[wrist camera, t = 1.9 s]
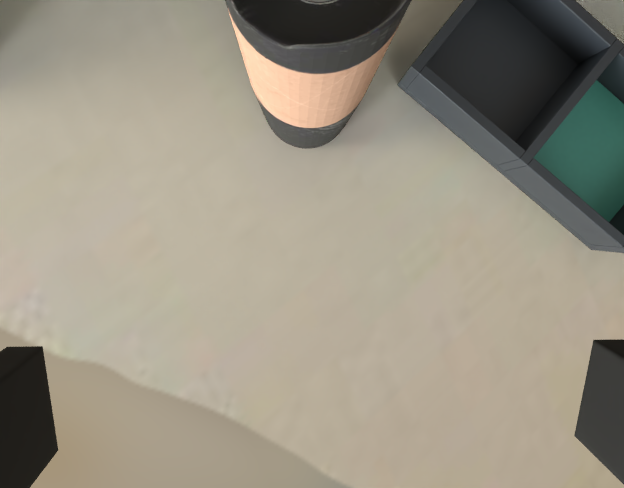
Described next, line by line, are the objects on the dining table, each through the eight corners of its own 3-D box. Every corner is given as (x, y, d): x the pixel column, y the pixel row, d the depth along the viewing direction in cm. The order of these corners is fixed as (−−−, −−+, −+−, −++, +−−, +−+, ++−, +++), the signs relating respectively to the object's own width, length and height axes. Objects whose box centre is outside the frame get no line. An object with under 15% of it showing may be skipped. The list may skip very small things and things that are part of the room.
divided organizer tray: (396, 85, 33) (410, 66, 29) (484, -25, 33) (510, -59, 29) (591, 250, 35) (630, 253, 31) (676, 146, 35) (727, 136, 31)
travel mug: (342, 51, 33) (410, -208, 13) (360, 142, 34) (452, 27, 14) (252, 69, 33) (181, -166, 13) (271, 160, 33) (233, 70, 13)
